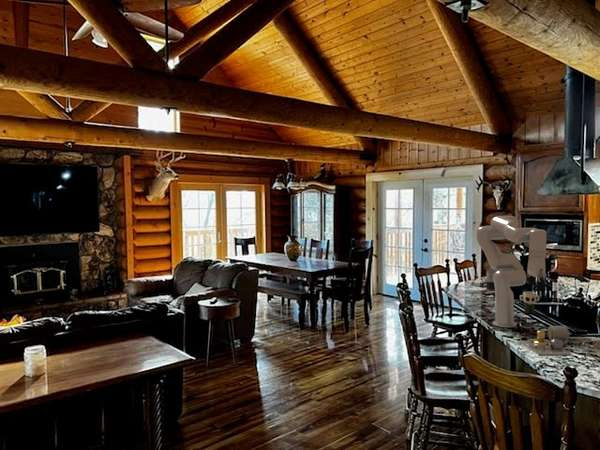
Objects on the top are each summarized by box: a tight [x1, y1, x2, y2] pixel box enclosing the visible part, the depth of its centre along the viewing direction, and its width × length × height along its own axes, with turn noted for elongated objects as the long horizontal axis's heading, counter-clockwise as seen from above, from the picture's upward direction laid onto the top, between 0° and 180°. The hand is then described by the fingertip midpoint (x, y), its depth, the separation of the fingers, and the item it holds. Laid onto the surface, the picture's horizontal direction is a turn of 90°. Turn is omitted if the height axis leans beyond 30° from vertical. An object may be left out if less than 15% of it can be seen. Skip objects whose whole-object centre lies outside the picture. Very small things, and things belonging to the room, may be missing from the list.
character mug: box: [519, 291, 540, 314], centre depth 278 cm, size 11×7×13 cm, turn 73°
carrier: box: [520, 338, 570, 356], centre depth 212 cm, size 17×14×5 cm
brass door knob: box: [533, 329, 549, 345], centre depth 214 cm, size 7×7×7 cm
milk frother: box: [478, 269, 498, 291], centre depth 360 cm, size 14×16×15 cm
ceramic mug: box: [547, 325, 570, 346], centre depth 222 cm, size 11×8×8 cm
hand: (536, 287), depth 226 cm, fingers open, 9 cm apart
